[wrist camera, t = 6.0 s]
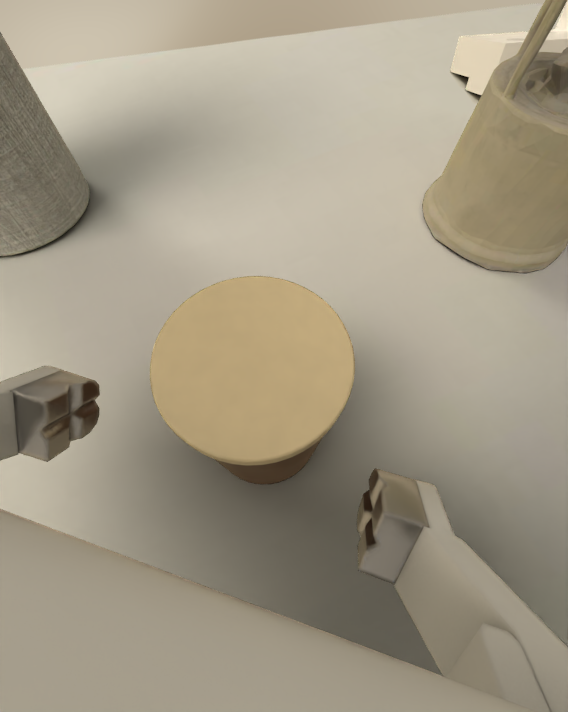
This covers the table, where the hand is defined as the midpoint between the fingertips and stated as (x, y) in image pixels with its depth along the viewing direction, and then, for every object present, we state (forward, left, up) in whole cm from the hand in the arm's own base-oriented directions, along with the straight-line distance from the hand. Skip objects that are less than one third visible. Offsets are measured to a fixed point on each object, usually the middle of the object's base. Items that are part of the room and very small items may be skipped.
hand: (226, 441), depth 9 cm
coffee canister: (+2, -1, -7) cm, 8 cm away
